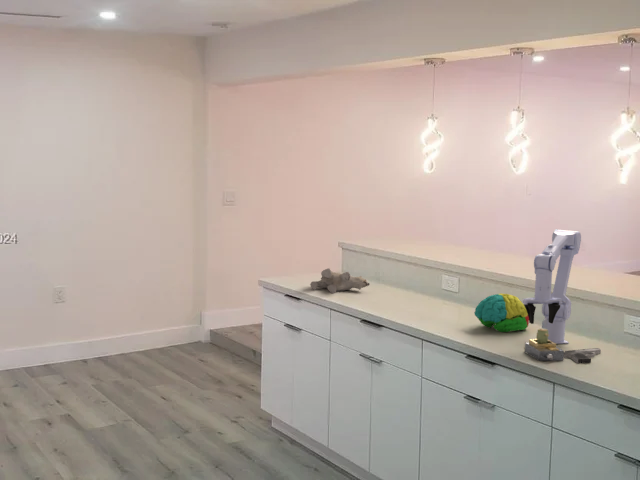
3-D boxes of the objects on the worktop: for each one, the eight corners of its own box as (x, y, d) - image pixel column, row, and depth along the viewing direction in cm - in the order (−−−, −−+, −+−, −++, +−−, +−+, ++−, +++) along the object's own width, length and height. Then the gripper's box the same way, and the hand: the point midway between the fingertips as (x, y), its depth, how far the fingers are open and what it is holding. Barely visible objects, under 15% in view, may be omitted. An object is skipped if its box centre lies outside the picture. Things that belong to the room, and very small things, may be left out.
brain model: (492, 335, 296) (496, 298, 295) (464, 325, 313) (467, 290, 312) (538, 333, 306) (542, 297, 305) (508, 323, 323) (511, 289, 322)
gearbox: (524, 351, 274) (525, 338, 274) (547, 351, 276) (548, 338, 275) (542, 362, 260) (543, 349, 259) (566, 362, 262) (567, 348, 261)
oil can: (534, 344, 272) (535, 328, 271) (544, 343, 272) (544, 328, 272) (542, 348, 266) (543, 332, 266) (552, 347, 267) (552, 331, 267)
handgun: (619, 361, 266) (596, 352, 277) (619, 355, 266) (596, 347, 277) (578, 365, 260) (557, 356, 272) (578, 359, 260) (557, 350, 271)
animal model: (347, 260, 372) (366, 258, 386) (305, 275, 388) (325, 273, 402) (355, 287, 370) (373, 285, 384) (312, 302, 385) (331, 299, 399)
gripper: (529, 289, 269) (527, 325, 270) (566, 288, 271) (564, 325, 273) (521, 285, 276) (519, 321, 277) (557, 285, 278) (555, 320, 280)
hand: (541, 323), depth 275 cm, fingers open, 7 cm apart
